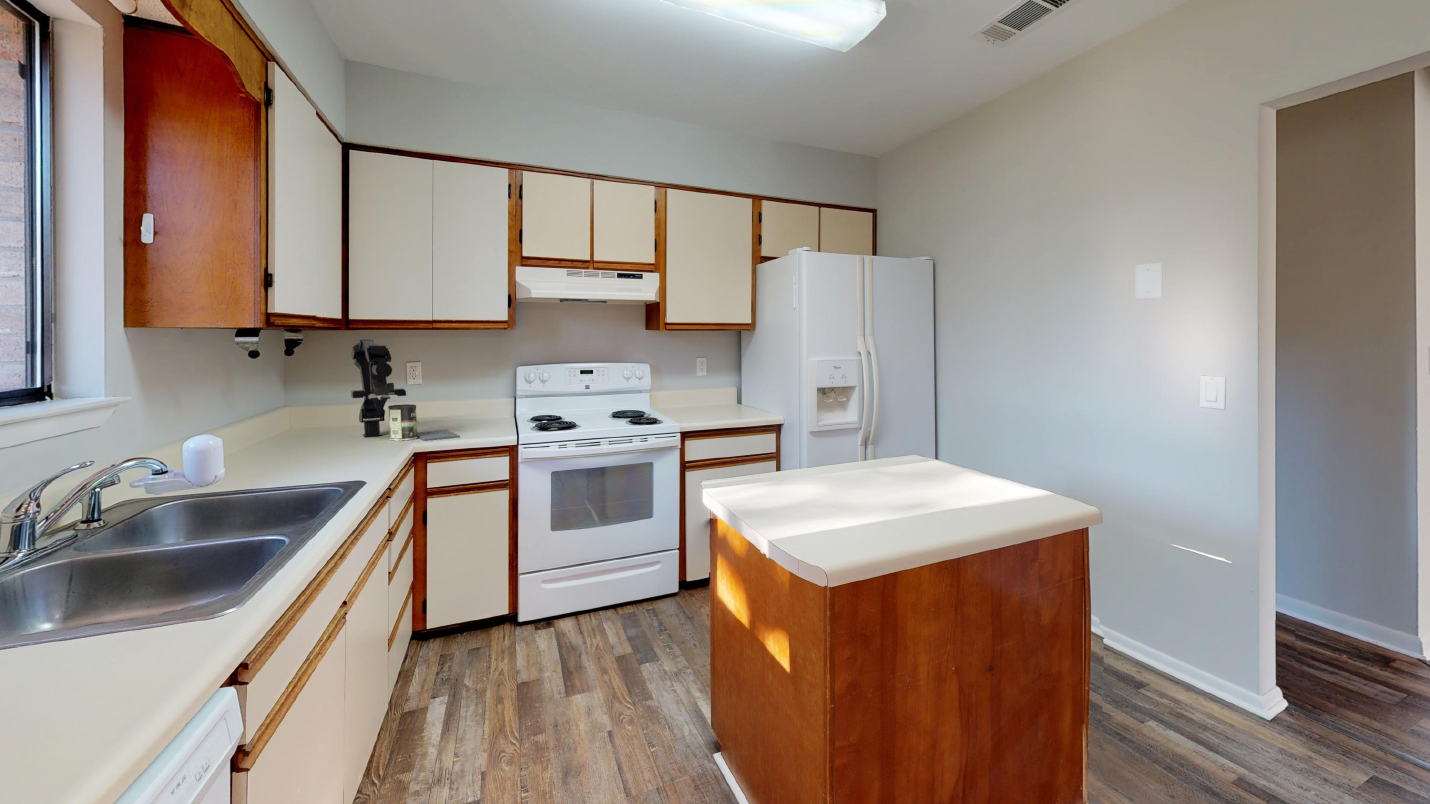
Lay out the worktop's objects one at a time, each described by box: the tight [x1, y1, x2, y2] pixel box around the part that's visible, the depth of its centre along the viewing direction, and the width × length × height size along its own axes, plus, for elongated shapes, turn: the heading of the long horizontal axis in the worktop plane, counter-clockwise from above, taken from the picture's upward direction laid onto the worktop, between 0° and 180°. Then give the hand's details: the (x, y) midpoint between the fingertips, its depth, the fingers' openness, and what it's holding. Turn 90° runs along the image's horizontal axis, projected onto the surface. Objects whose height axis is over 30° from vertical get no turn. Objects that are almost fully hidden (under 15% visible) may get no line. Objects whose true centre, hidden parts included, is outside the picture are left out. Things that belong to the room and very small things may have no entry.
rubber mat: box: [417, 429, 461, 441], centre depth 243 cm, size 20×14×1 cm
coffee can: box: [387, 403, 418, 442], centre depth 235 cm, size 10×10×14 cm
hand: (380, 414), depth 229 cm, fingers closed
